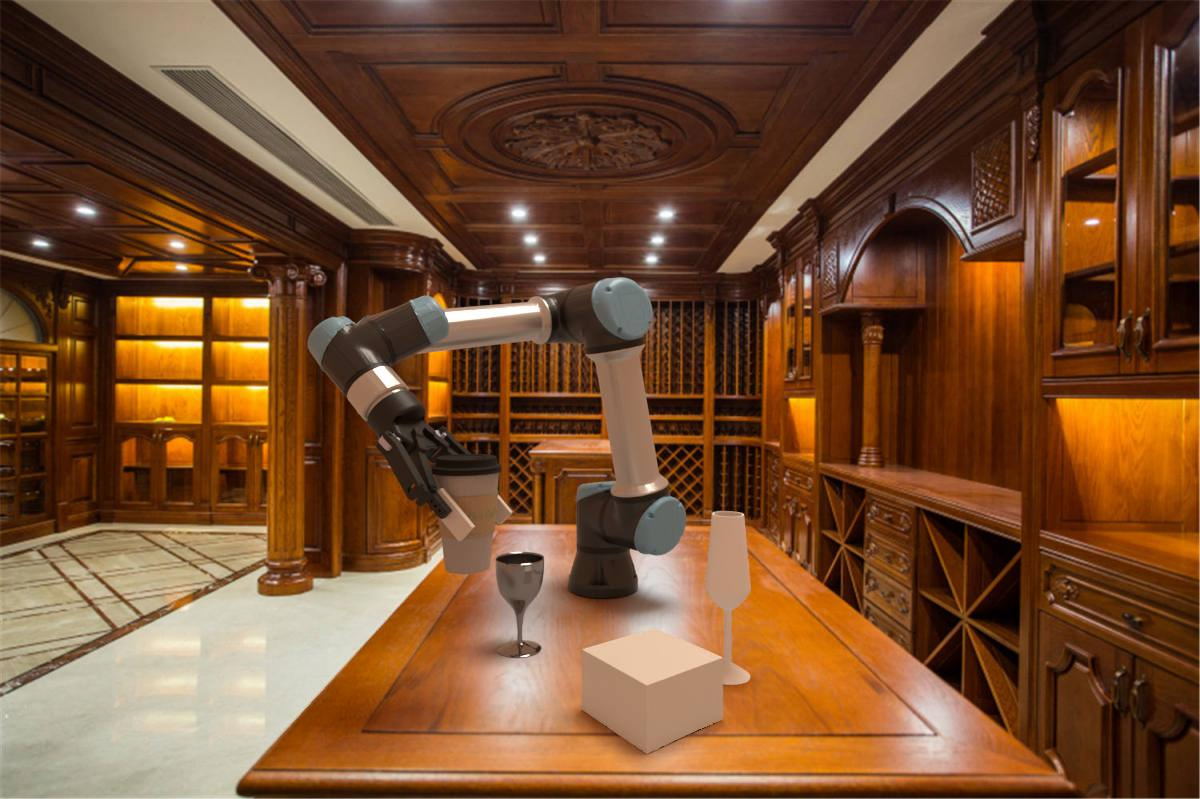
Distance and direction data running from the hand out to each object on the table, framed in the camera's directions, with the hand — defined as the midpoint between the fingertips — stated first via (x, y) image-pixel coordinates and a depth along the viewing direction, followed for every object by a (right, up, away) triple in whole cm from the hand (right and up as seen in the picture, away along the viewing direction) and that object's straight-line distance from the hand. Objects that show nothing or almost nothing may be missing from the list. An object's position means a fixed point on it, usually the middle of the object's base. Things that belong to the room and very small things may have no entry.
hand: (487, 525), depth 83 cm
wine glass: (+2, -24, +20) cm, 31 cm away
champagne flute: (+34, -24, +10) cm, 43 cm away
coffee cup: (-3, -6, +1) cm, 7 cm away
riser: (+22, -24, -2) cm, 33 cm away
